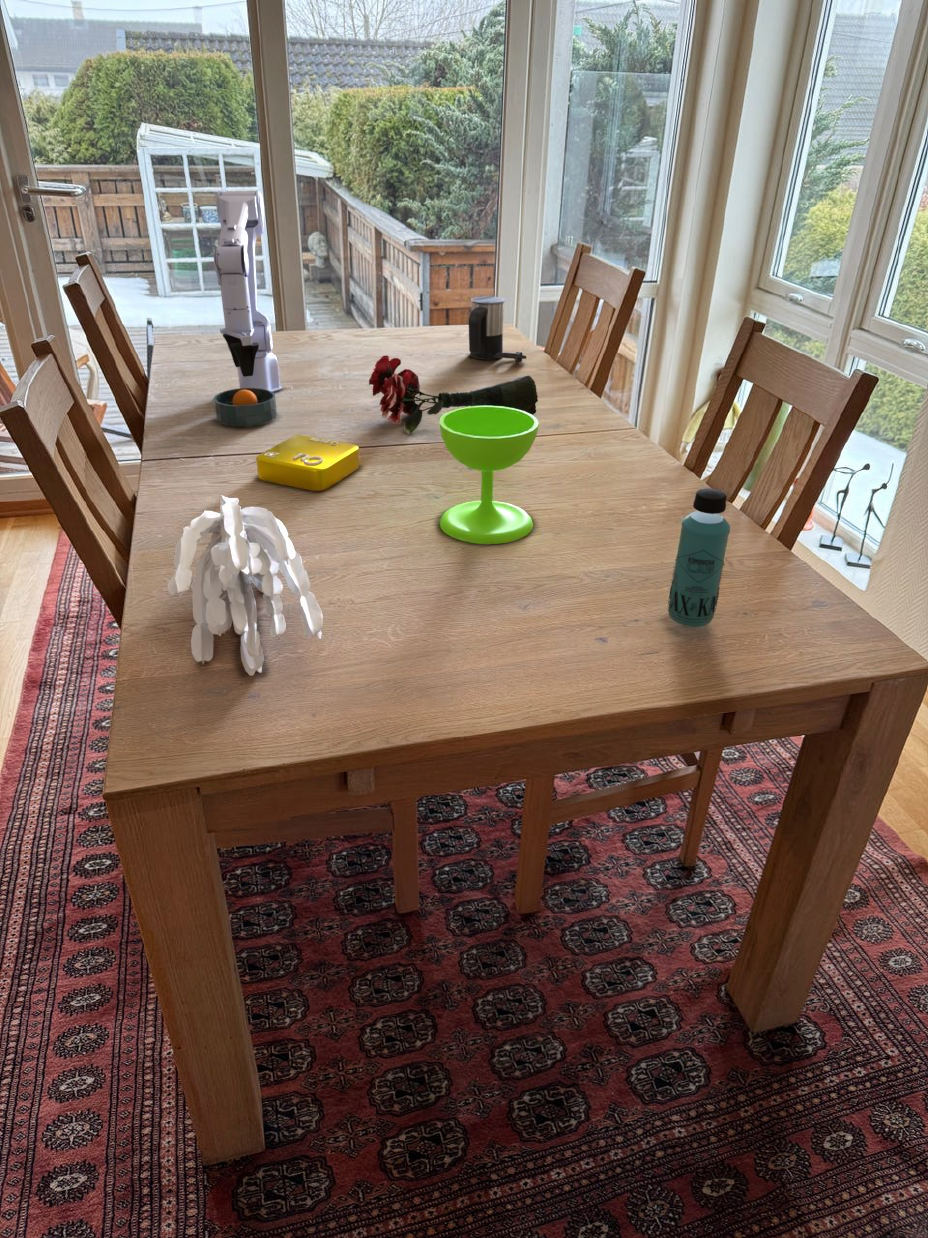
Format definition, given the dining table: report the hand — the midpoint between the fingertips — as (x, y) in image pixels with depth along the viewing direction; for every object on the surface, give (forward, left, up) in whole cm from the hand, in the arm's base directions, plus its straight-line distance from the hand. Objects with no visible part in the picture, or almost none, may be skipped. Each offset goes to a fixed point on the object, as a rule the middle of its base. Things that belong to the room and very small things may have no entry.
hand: (244, 371), depth 200 cm
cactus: (+65, +62, -10) cm, 91 cm away
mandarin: (+2, +2, -6) cm, 7 cm away
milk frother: (-70, +24, -10) cm, 75 cm away
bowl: (+3, +3, -9) cm, 10 cm away
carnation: (-21, +41, -10) cm, 47 cm away
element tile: (+20, +35, -10) cm, 41 cm away
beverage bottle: (+34, +116, -10) cm, 121 cm away
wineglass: (+21, +75, -10) cm, 78 cm away
